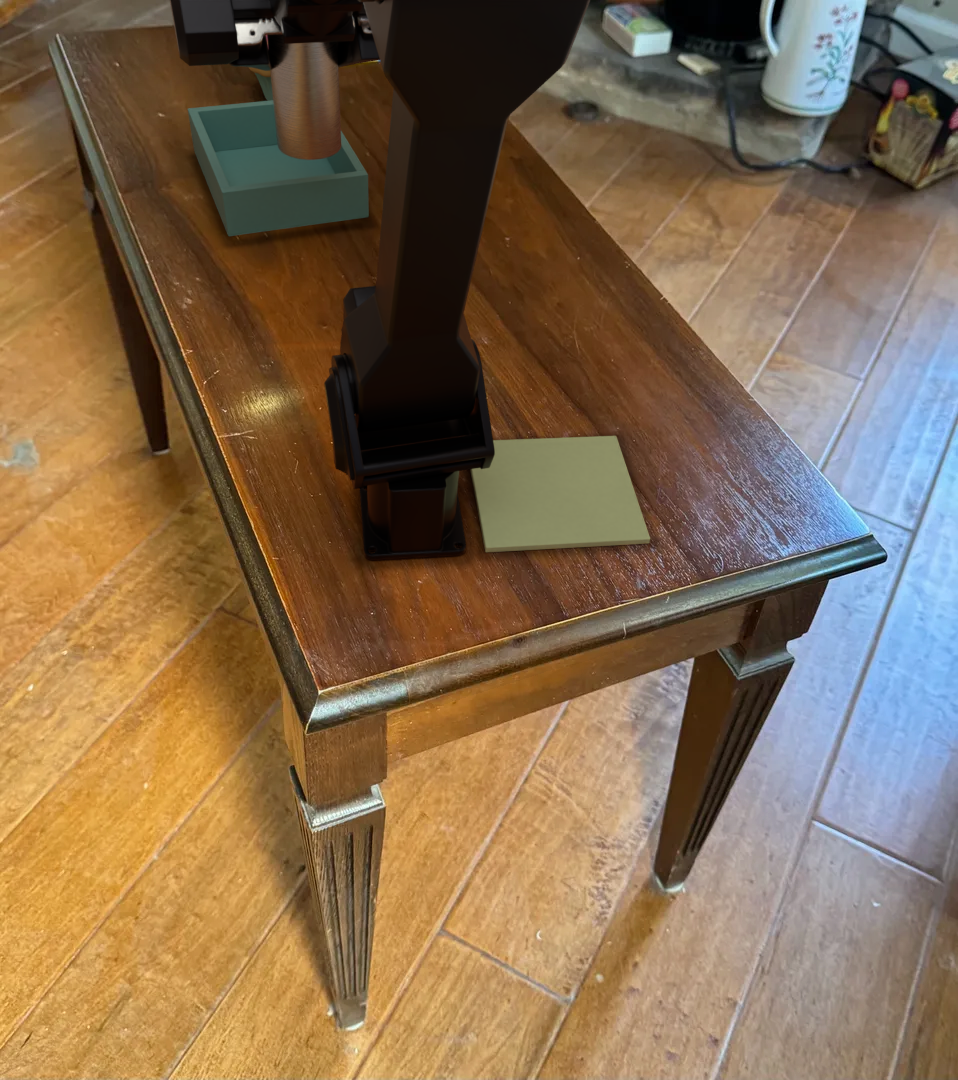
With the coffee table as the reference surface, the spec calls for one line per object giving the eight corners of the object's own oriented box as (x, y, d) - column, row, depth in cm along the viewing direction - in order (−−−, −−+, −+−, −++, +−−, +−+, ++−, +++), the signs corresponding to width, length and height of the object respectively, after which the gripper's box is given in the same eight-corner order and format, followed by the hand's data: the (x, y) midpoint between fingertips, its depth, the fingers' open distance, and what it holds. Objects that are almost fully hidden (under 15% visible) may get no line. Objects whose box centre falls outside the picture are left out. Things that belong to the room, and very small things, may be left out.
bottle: (339, 161, 76) (333, -2, 67) (274, 158, 76) (258, -6, 67) (342, 131, 79) (336, -27, 71) (280, 129, 79) (266, -31, 70)
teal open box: (368, 224, 86) (368, 174, 82) (229, 244, 82) (222, 192, 78) (322, 143, 95) (319, 95, 91) (195, 157, 91) (187, 108, 88)
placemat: (649, 543, 62) (650, 538, 62) (485, 552, 61) (485, 547, 61) (615, 440, 69) (616, 435, 69) (465, 446, 67) (466, 440, 67)
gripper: (443, -184, 60) (401, -47, 76) (140, -189, 56) (159, -42, 71) (470, -5, 61) (423, 95, 76) (174, 5, 57) (186, 109, 72)
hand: (301, 62), depth 74 cm, fingers closed on bottle, 5 cm apart
